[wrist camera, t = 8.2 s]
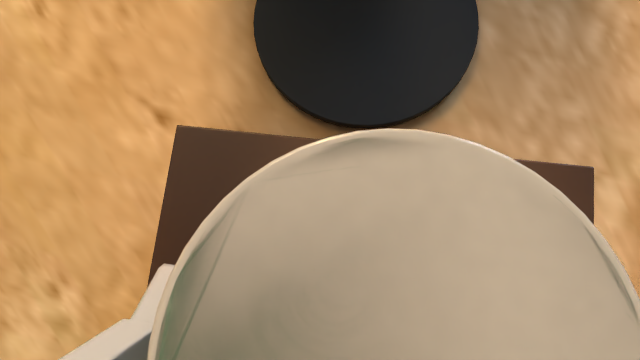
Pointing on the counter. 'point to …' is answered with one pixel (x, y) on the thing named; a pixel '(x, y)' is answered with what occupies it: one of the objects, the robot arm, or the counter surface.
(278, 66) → the coaster
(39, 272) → the counter surface
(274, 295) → the cup
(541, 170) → the wooden footed stand
